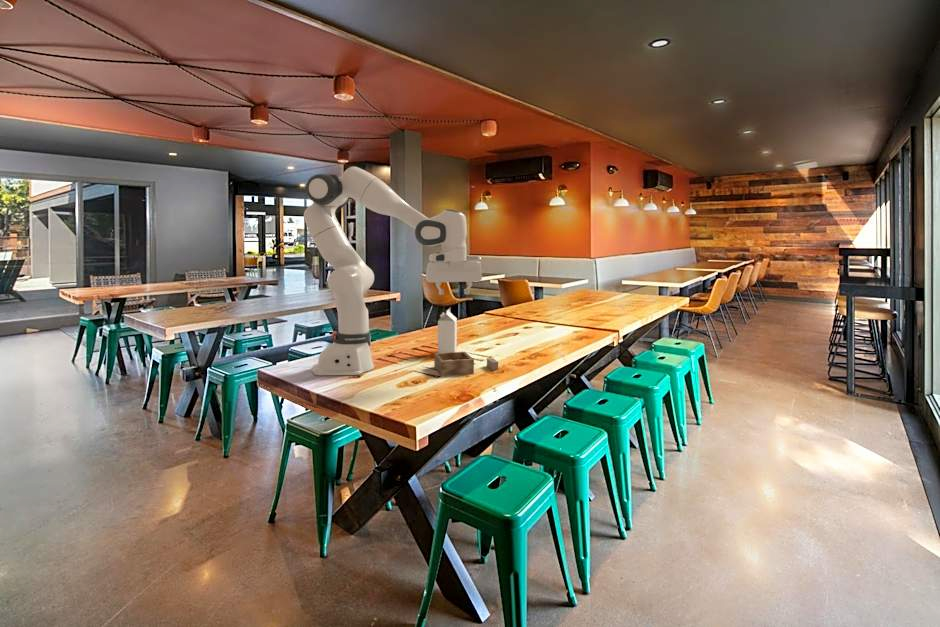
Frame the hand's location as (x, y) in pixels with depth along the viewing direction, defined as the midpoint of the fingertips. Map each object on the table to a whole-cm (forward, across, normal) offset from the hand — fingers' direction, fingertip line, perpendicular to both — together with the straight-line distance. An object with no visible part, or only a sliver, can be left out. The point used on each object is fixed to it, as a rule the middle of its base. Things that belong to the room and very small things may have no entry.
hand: (454, 294), depth 177 cm
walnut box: (+29, 0, 0) cm, 29 cm away
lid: (+30, -15, +1) cm, 33 cm away
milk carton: (+29, -4, -26) cm, 39 cm away
